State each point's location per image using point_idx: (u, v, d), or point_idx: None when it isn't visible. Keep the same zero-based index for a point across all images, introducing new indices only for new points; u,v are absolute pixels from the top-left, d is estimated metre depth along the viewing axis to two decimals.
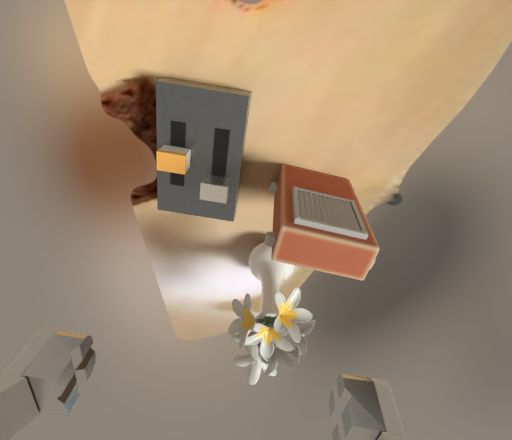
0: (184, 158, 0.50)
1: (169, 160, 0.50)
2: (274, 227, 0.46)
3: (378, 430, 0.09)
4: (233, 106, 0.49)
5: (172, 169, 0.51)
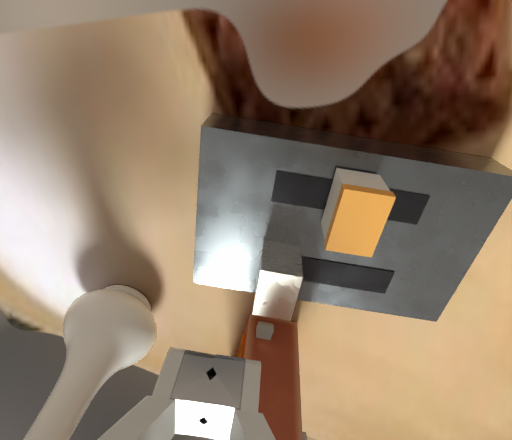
0: (366, 254, 0.21)
1: (366, 223, 0.20)
2: None
3: (231, 407, 0.09)
4: (425, 300, 0.28)
5: (340, 225, 0.20)
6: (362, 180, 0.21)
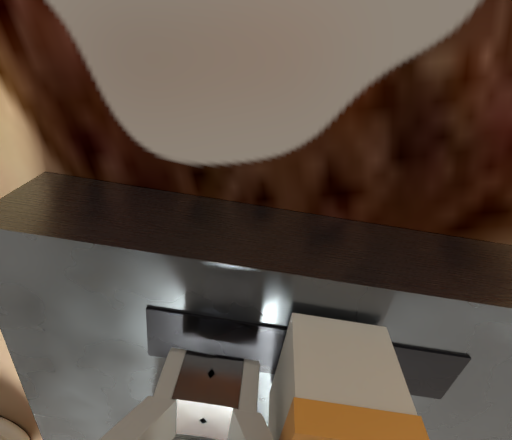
0: None
1: None
2: None
3: (230, 407, 0.09)
4: None
5: None
6: (347, 364, 0.09)
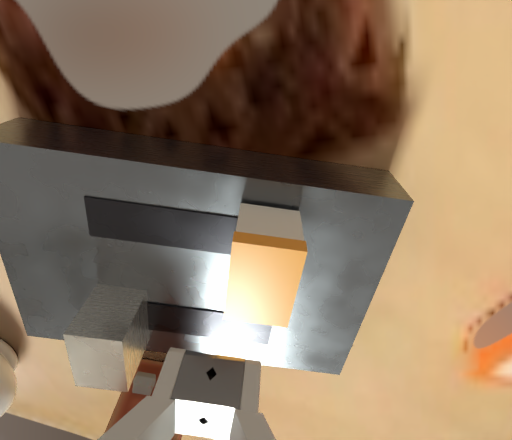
0: (279, 324, 0.15)
1: (272, 285, 0.14)
2: None
3: (231, 408, 0.09)
4: (320, 351, 0.22)
5: (237, 289, 0.14)
6: (269, 222, 0.15)
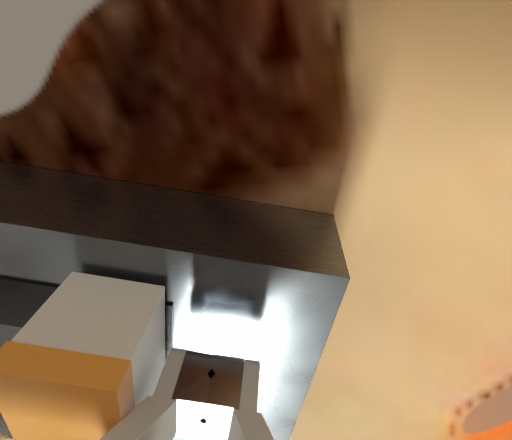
0: None
1: (78, 429, 0.08)
2: None
3: (230, 407, 0.09)
4: None
5: (25, 430, 0.09)
6: (92, 315, 0.09)
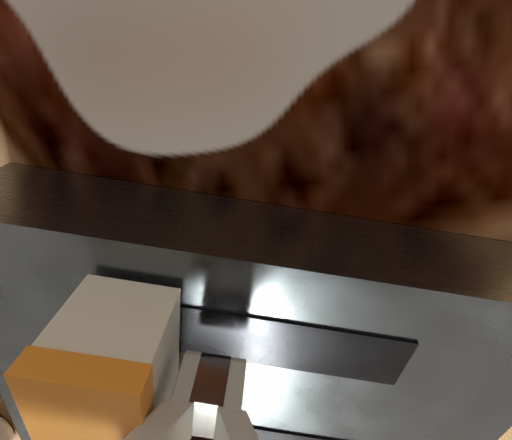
0: None
1: (99, 433, 0.08)
2: None
3: (214, 405, 0.09)
4: None
5: (45, 434, 0.09)
6: (111, 319, 0.09)
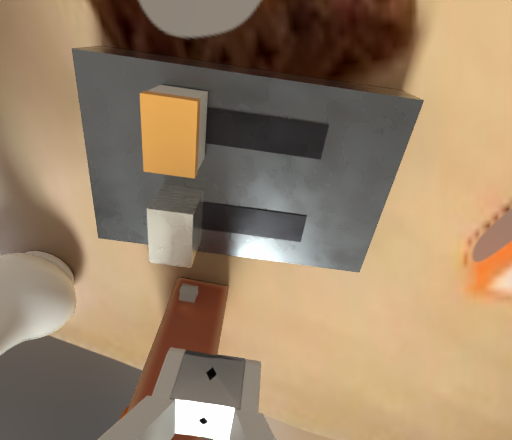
0: (187, 175, 0.19)
1: (176, 135, 0.18)
2: None
3: (231, 407, 0.09)
4: (344, 248, 0.26)
5: (150, 140, 0.18)
6: (177, 92, 0.19)
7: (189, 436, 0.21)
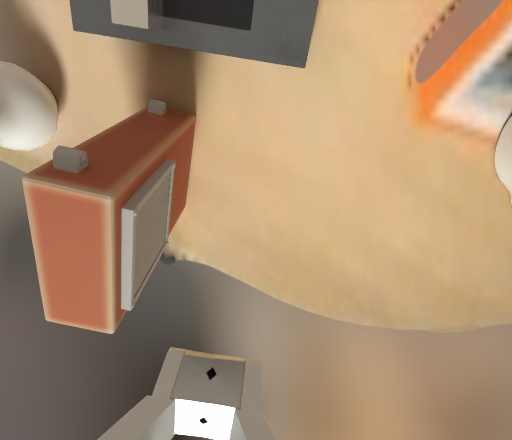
0: None
1: None
2: (95, 149, 0.24)
3: (231, 407, 0.09)
4: (289, 38, 0.29)
5: None
6: None
7: (139, 155, 0.25)
